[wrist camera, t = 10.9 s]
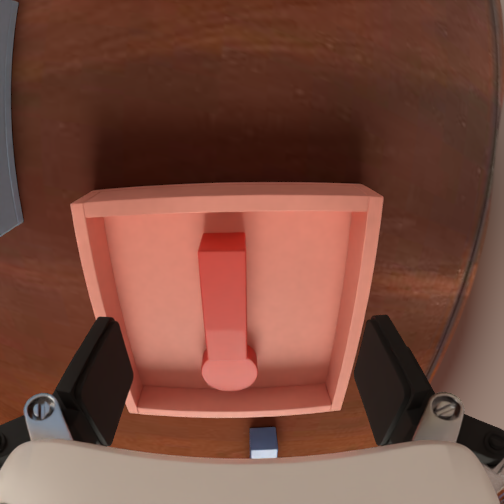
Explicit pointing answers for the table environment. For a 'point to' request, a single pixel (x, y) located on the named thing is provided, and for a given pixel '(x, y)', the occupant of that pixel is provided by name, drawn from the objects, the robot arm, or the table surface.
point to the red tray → (258, 288)
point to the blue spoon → (263, 443)
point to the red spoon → (225, 312)
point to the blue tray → (7, 123)
